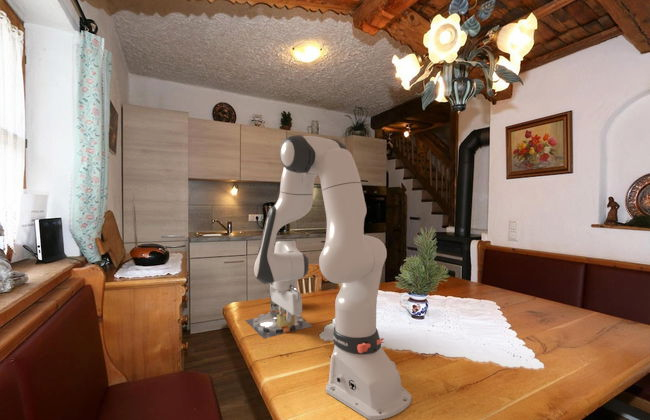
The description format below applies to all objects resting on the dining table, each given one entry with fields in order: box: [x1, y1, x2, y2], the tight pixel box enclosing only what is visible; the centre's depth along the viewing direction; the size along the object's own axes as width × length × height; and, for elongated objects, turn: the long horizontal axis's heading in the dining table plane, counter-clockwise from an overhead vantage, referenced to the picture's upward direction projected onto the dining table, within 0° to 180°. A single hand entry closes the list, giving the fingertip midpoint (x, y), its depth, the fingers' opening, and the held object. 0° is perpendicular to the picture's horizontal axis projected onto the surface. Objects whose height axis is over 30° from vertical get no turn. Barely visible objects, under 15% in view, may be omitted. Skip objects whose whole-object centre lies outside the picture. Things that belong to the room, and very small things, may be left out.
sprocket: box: [253, 310, 304, 334], centre depth 119 cm, size 19×20×6 cm
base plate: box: [245, 317, 313, 339], centre depth 119 cm, size 20×20×1 cm
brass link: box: [277, 313, 295, 328], centre depth 113 cm, size 3×6×4 cm, turn 123°
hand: (285, 319), depth 113 cm, fingers closed on brass link, 3 cm apart
